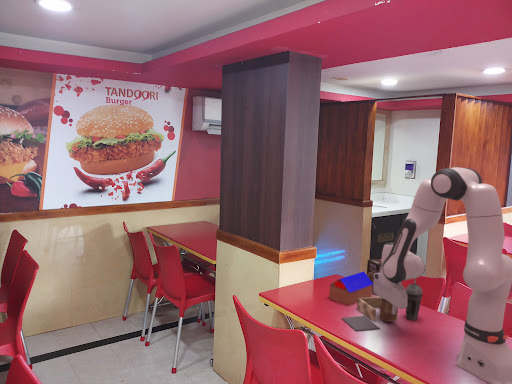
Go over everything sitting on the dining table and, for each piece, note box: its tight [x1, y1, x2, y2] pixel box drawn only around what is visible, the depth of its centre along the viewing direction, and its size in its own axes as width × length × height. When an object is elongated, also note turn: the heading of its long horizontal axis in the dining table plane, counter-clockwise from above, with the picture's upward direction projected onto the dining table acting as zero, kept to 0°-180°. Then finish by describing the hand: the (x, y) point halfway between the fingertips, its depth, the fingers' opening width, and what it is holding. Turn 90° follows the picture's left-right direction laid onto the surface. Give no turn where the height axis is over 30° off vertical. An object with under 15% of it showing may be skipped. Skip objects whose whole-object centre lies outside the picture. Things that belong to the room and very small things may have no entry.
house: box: [328, 271, 373, 307], centre depth 205 cm, size 12×20×12 cm, turn 132°
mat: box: [341, 315, 381, 332], centre depth 176 cm, size 12×11×1 cm
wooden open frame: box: [356, 296, 399, 322], centre depth 187 cm, size 14×12×5 cm
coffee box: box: [366, 258, 382, 296], centre depth 214 cm, size 9×6×16 cm
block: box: [379, 299, 398, 323], centre depth 179 cm, size 5×5×8 cm
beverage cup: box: [405, 278, 423, 321], centre depth 183 cm, size 7×7×20 cm
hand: (388, 310), depth 179 cm, fingers closed on block, 5 cm apart
